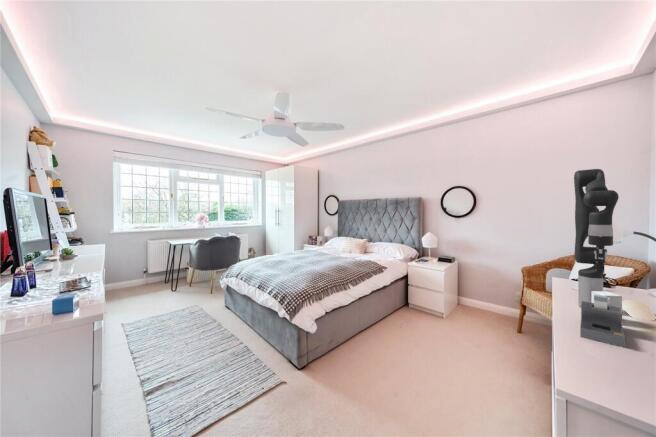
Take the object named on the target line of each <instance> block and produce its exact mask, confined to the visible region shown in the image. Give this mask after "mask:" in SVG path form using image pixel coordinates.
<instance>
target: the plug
mask: <svg viewBox="0 0 656 437" xmlns="http://www.w3.org/2000/svg"><path fill="white" fill-rule="evenodd" d="M607 304H610V298H607V296H601V295H594V307H596V308H601V309H607Z"/></svg>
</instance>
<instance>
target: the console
mask: <svg viewBox="0 0 656 437" xmlns="http://www.w3.org/2000/svg"><path fill="white" fill-rule="evenodd" d="M580 311H581V312H580V314H581V315H580V316H581V317H580V327H579V328H580V331H579V332H580V333H579V335H580V338H584V339H588V340H592V341H596V342H600V343H605V344H608V345H611V346H616V347H620V346H621V347H620V348H624V347H625V348H626V336H625V333H624V329H623V324H622V323H623V312H622V313H621V309H620V308H619V307H614V306H608V305H607V309H601V308H596V307H594V303H590V302H584V301H582V304H581V307H580Z"/></svg>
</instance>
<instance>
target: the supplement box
mask: <svg viewBox="0 0 656 437" xmlns="http://www.w3.org/2000/svg"><path fill="white" fill-rule="evenodd" d="M594 295H601V296H607V298H610V304H607V305H608V306H614V307H619V308H620V309H621V313H622V314H623V296H622V295H620V294H616V293H613V292H610V291H604V290H603V291H591V298H592V303H594Z"/></svg>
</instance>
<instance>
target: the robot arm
mask: <svg viewBox="0 0 656 437" xmlns="http://www.w3.org/2000/svg"><path fill="white" fill-rule="evenodd" d="M573 184H574V186H573V187H574V196H575V198H574V199H575V208H574V225H575V226H574V227H575V240H574V242H575V243H574V252H573V253H574V254H573V255H574V261H575V262H576V263H578V264H587V265H588V264H589V265H592V266H590V267H588V268H587V267H586V268H582V269H579V270H578V272H577V273H578V276H577V277H578V278H577V279H578V280H577V281H578V284H577V285H578V286H577V288H578V299H577V300H578V303H577V304H578V307H580V308H581V304H582V301H584V302H590V303H592V298H591V291H603V292H604V273H605V264H606V260H607V254H608V249H607V248H606V247H611V246H613V245H614V229H613V213H614V210H615V207H616V205H617V204H618V201H619V199H620V198H619V193H618V192H617V191H615V190H612V189H608V187H607V186H606V176H605V172H604V170H602V169H600V168H593V169H592V168H591V169H581V170H576V171H575V172H574V175H573ZM584 188H585V189H584ZM584 190H585V191H584ZM598 207H605V208H604V209H601V210H600V209H599V208H598ZM587 238H588V240H587V241H588V242H587V243H588V245H590V246H584V244H585V241H586V239H587Z"/></svg>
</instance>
